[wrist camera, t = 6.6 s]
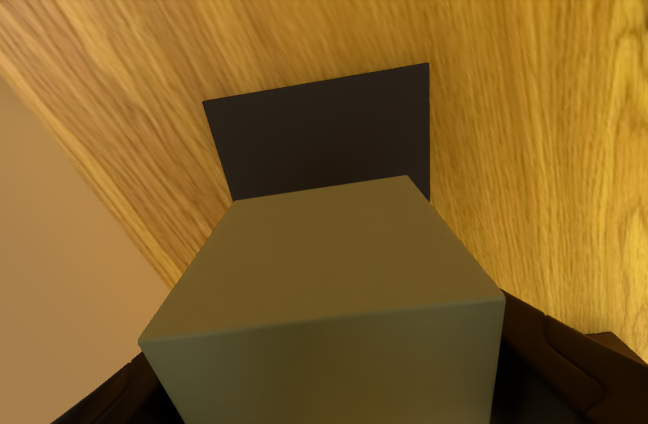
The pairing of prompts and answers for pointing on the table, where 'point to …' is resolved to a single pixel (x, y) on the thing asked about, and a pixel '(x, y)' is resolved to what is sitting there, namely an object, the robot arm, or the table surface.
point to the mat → (325, 133)
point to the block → (331, 315)
